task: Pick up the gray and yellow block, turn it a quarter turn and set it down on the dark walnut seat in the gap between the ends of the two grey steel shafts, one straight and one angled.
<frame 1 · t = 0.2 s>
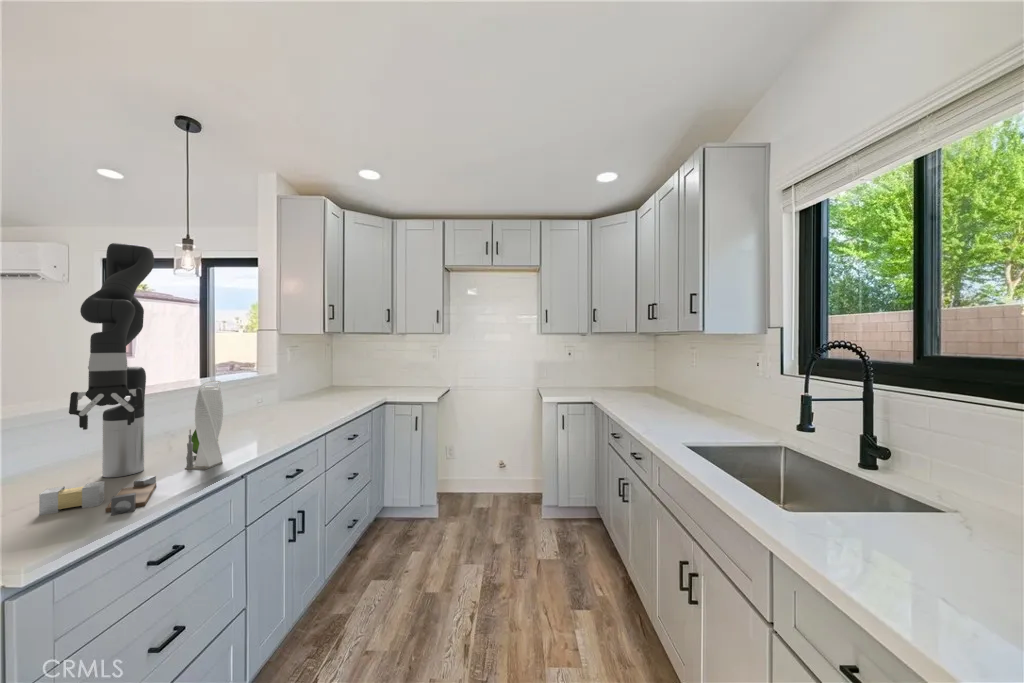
hand: (107, 427, 108), 17 cm above the countertop, tool pointing down, fingers open, 8 cm apart
avocado: (204, 454, 140), on the countertop
gray and yellow block: (73, 507, 96), on the countertop
skyscraper: (207, 465, 128), on the countertop
coupling stand: (133, 498, 102), on the countertop
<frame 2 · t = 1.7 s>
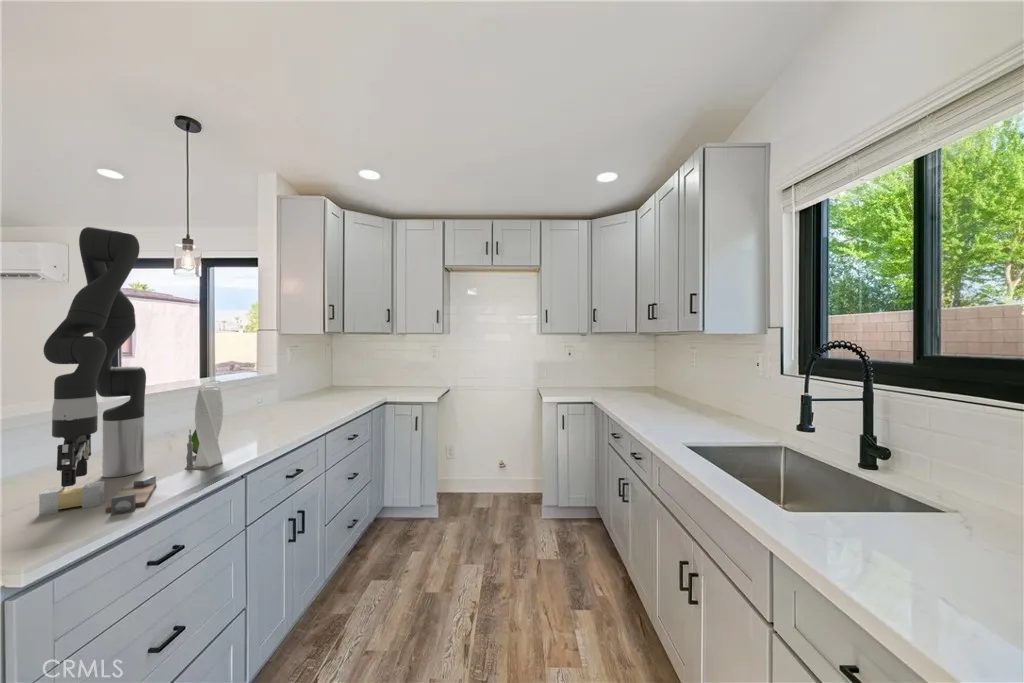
hand: (74, 480, 96), 7 cm above the countertop, tool pointing down, fingers open, 8 cm apart
nothing on the countertop moved.
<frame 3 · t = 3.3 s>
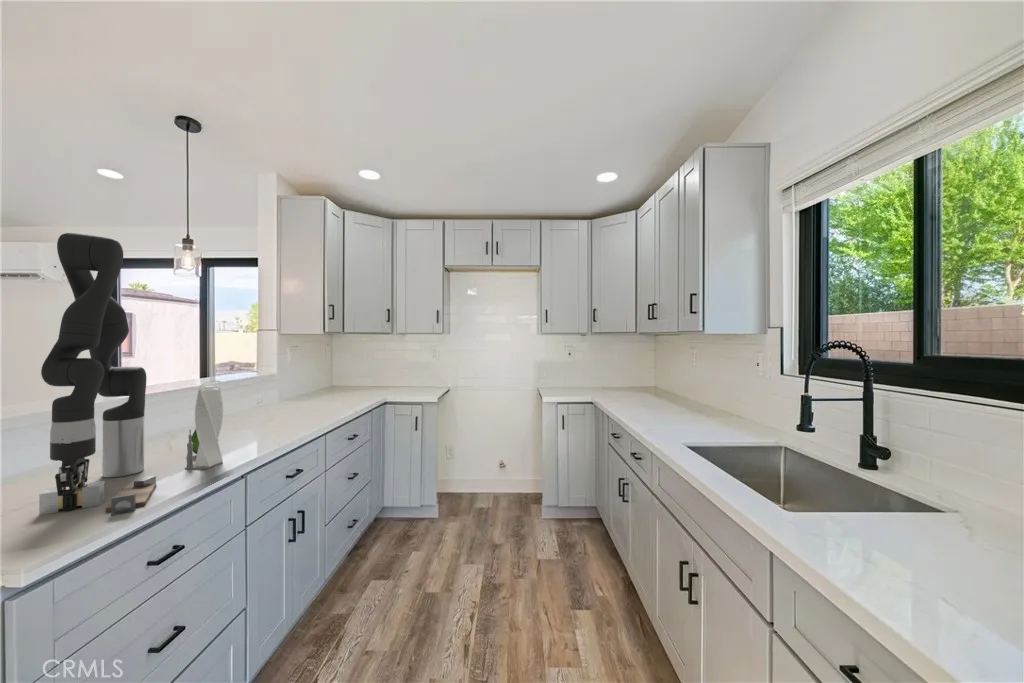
hand: (73, 506, 96), 0 cm above the countertop, tool pointing down, fingers closed on gray and yellow block, 4 cm apart
gray and yellow block: (73, 507, 96), on the countertop, touching gripper
everything else where it was.
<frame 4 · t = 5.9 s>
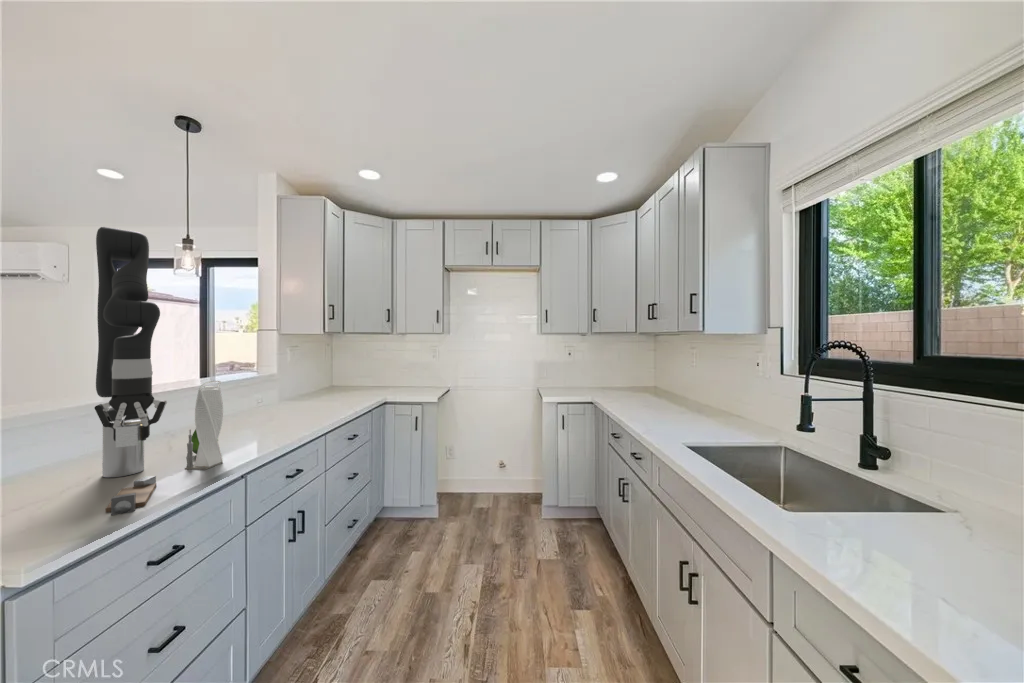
hand: (132, 440, 101), 15 cm above the countertop, tool pointing down, fingers closed on gray and yellow block, 4 cm apart
gray and yellow block: (131, 441, 101), point 15 cm above the countertop, touching gripper
everything else where it was.
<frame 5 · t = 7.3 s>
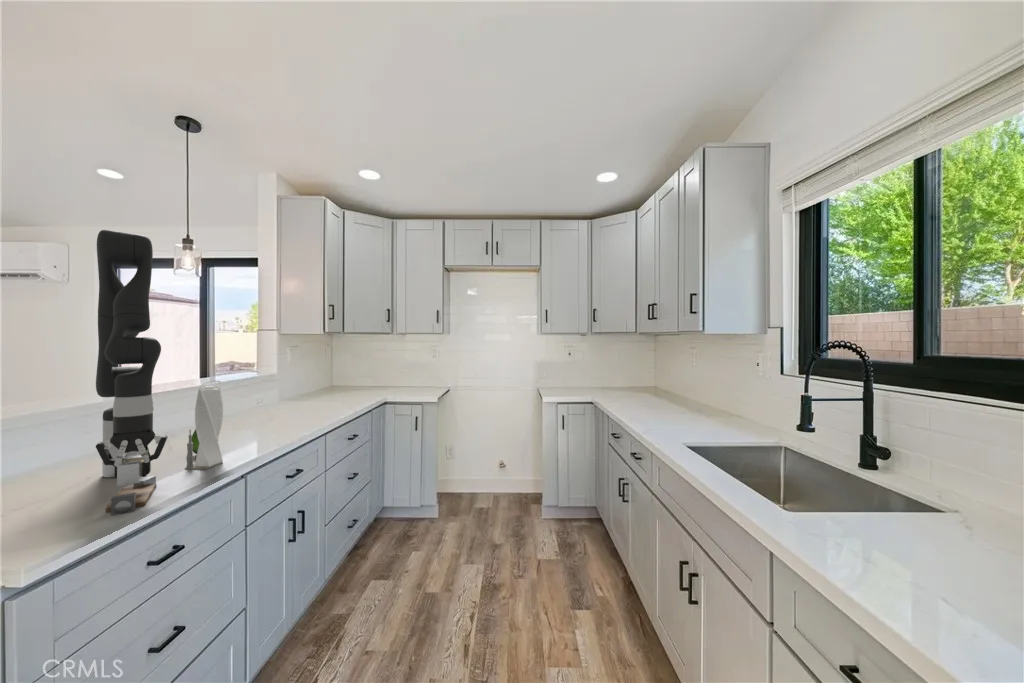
hand: (133, 477, 101), 6 cm above the countertop, tool pointing down, fingers closed on gray and yellow block, 4 cm apart
gray and yellow block: (132, 478, 101), point 5 cm above the countertop, touching gripper
everything else where it was.
when the fingers open (3 cm above the countertop, at t = 8.6 s): gray and yellow block drops 1 cm, resting on coupling stand.
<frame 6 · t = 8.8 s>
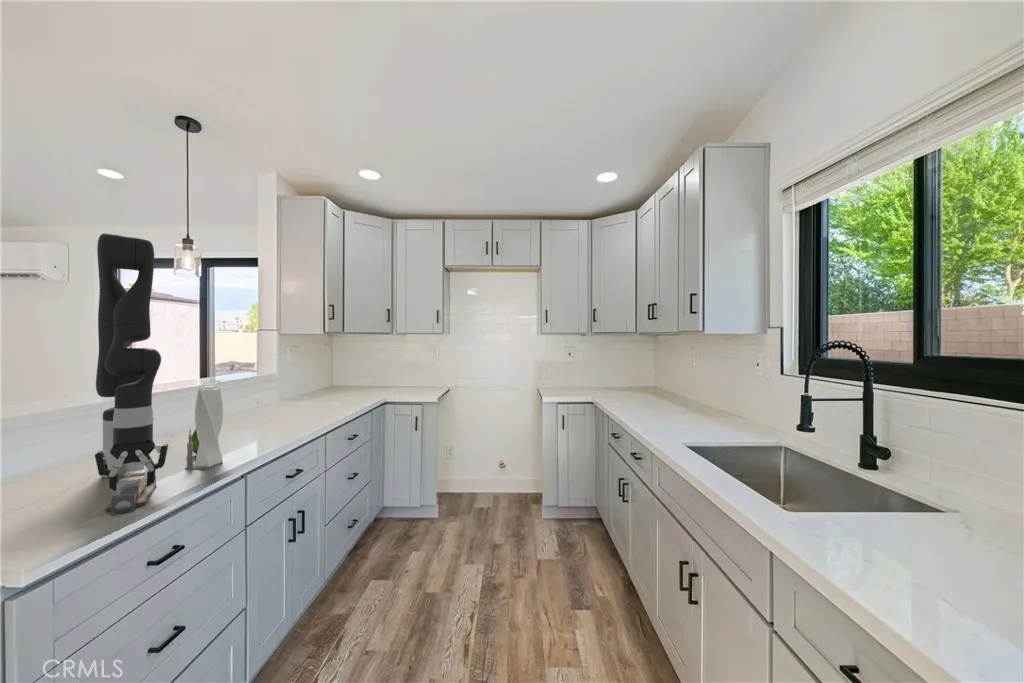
hand: (133, 486, 102), 3 cm above the countertop, tool pointing down, fingers open, 6 cm apart
gray and yellow block: (132, 494, 101), point 1 cm above the countertop, touching coupling stand
everything else where it was.
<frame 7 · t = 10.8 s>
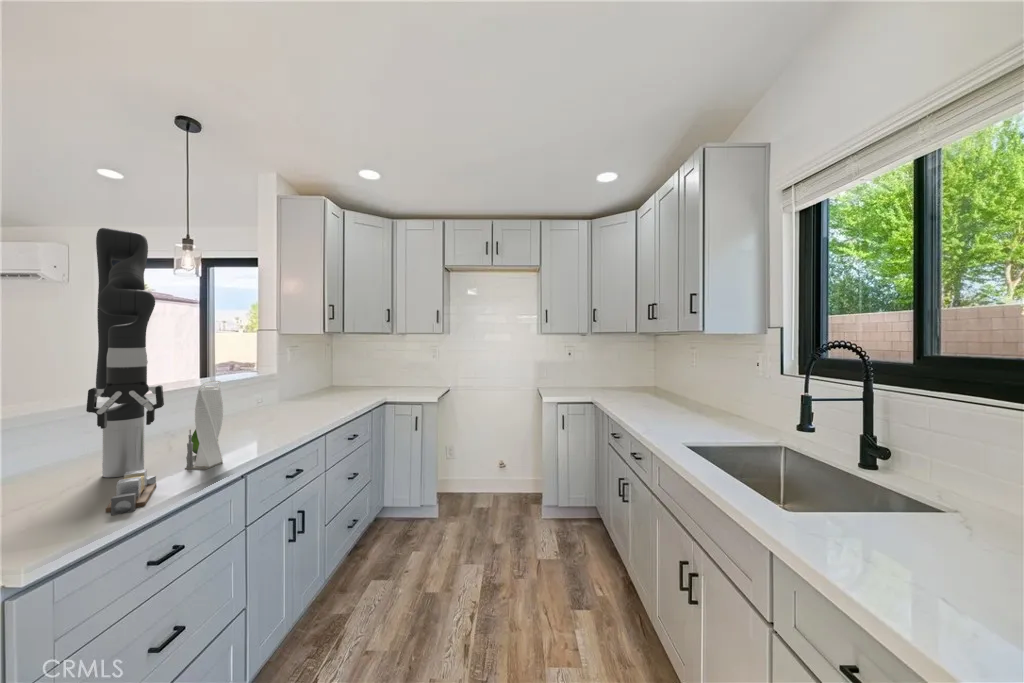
hand: (126, 426, 101), 19 cm above the countertop, tool pointing down, fingers open, 8 cm apart
nothing on the countertop moved.
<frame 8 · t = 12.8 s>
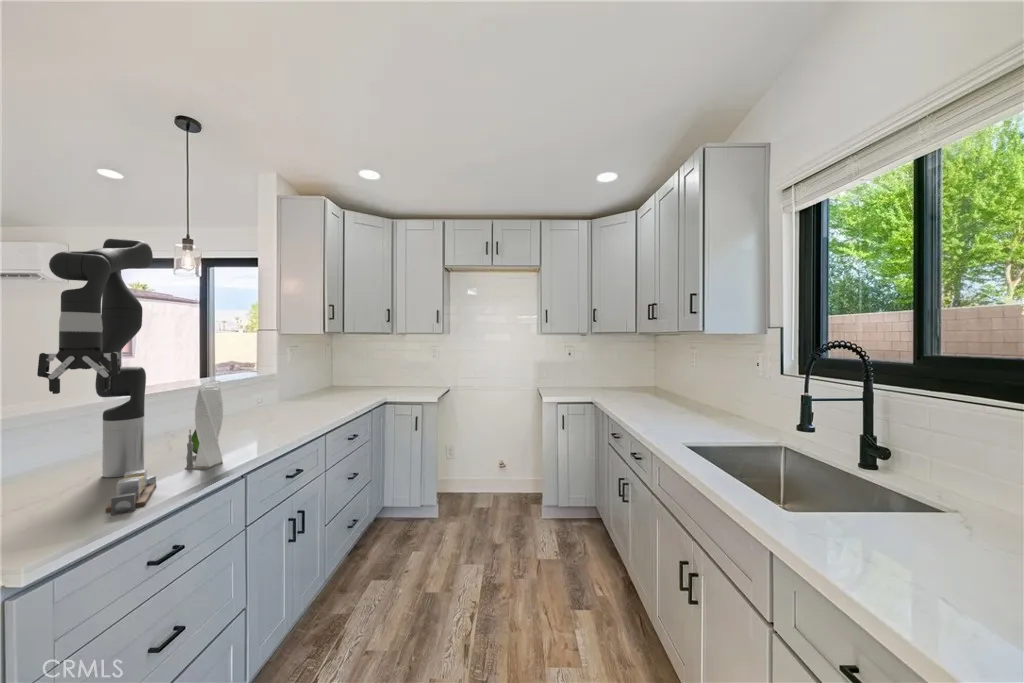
hand: (80, 392, 100), 28 cm above the countertop, tool pointing down, fingers open, 8 cm apart
nothing on the countertop moved.
at the end: gray and yellow block 0.1 cm off-centre on the coupling stand, point 1.0 cm above the coupling stand's base; gray and yellow block tilted 0°; the gripper is holding nothing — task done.
